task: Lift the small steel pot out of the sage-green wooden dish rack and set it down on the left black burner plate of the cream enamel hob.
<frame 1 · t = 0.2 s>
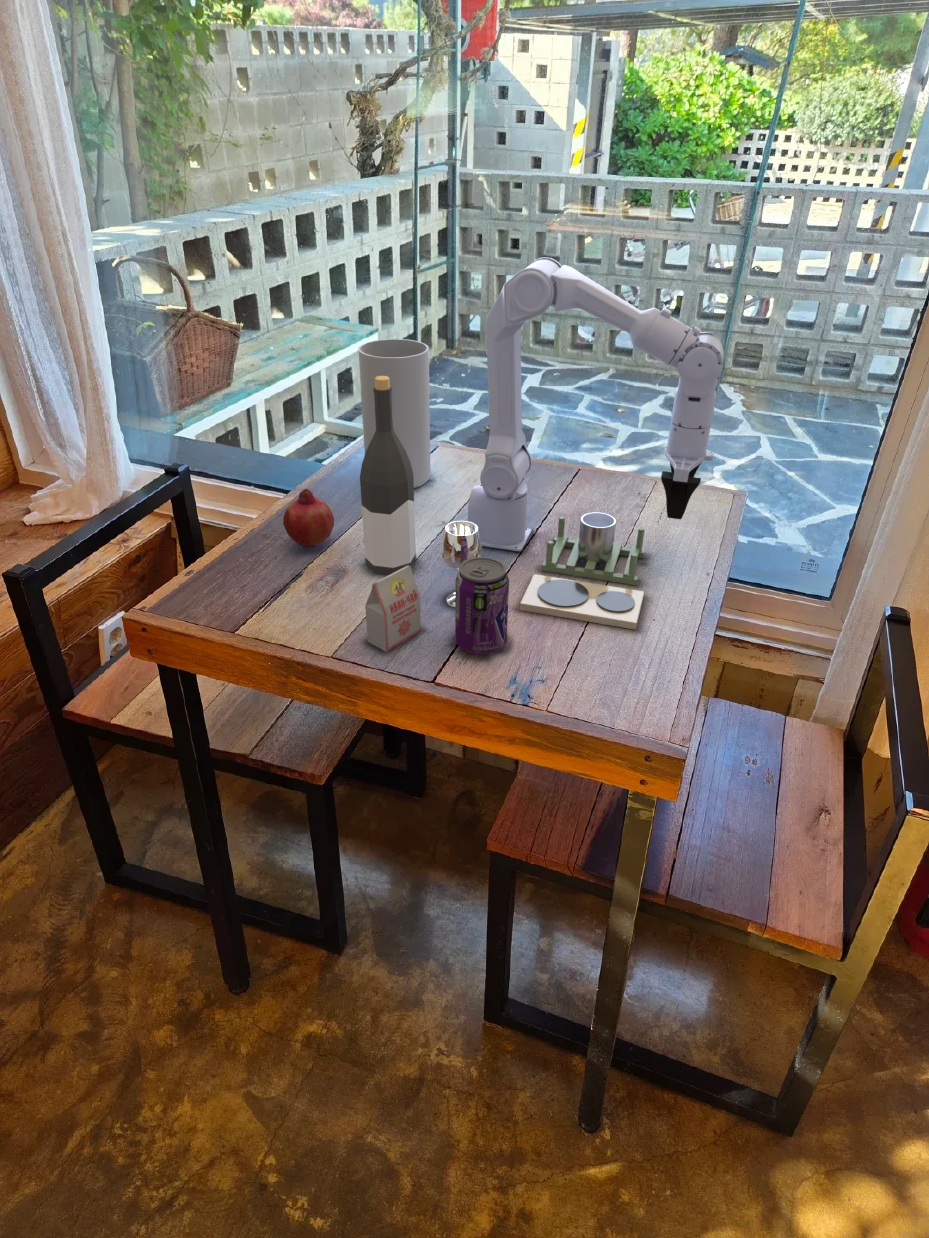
hand: (676, 507, 127), 10 cm above the table, tool pointing down, fingers open, 7 cm apart
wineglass: (461, 601, 123), on the table
rack: (593, 562, 133), on the table
fruit: (311, 545, 137), on the table
wine bottle: (390, 565, 132), on the table
tea bag: (394, 637, 115), on the table
hob: (582, 604, 122), on the table
pot: (594, 553, 132), point 2 cm above the table, touching rack
cylinder vase: (398, 479, 160), on the table
beverage can: (480, 644, 114), on the table
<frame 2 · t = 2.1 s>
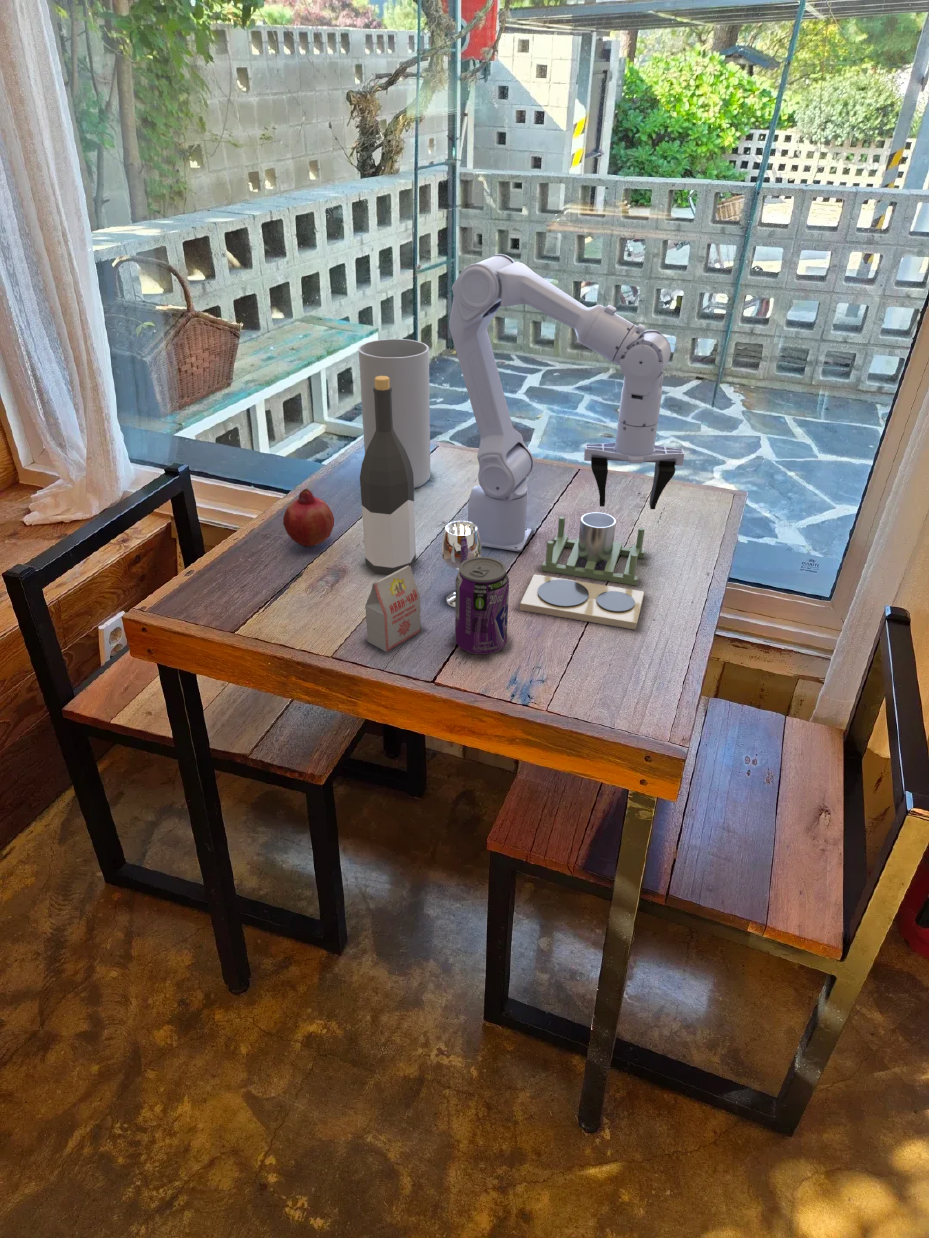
hand: (626, 505, 127), 10 cm above the table, tool pointing down, fingers open, 7 cm apart
nothing on the table moved.
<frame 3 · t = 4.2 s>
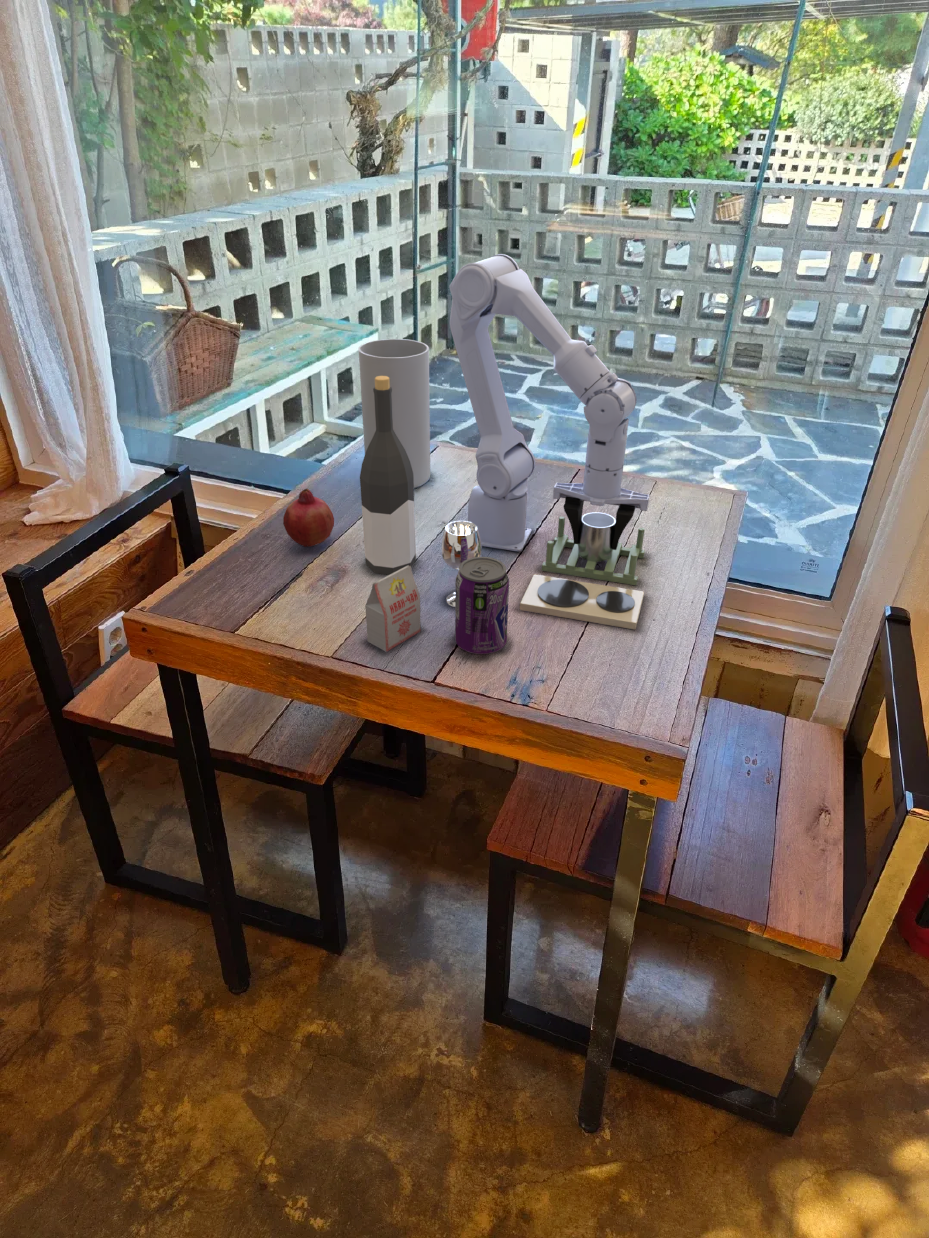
hand: (595, 544, 131), 3 cm above the table, tool pointing down, fingers closed on pot, 5 cm apart
pot: (594, 553, 132), point 2 cm above the table, touching gripper, rack
everything else where it was.
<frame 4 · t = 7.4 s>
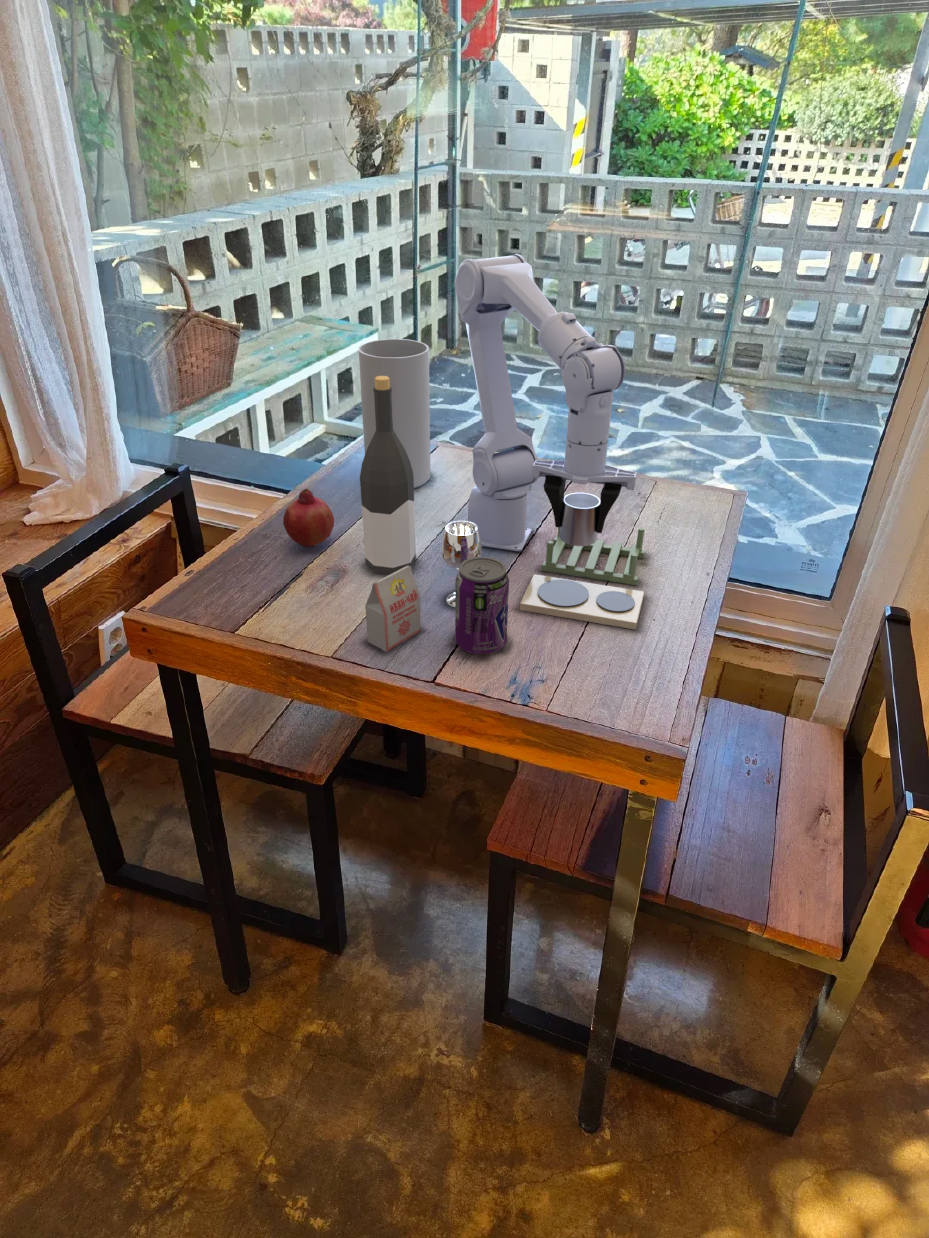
hand: (578, 527, 121), 10 cm above the table, tool pointing down, fingers closed on pot, 5 cm apart
pot: (578, 537, 121), point 9 cm above the table, touching gripper
everything else where it was.
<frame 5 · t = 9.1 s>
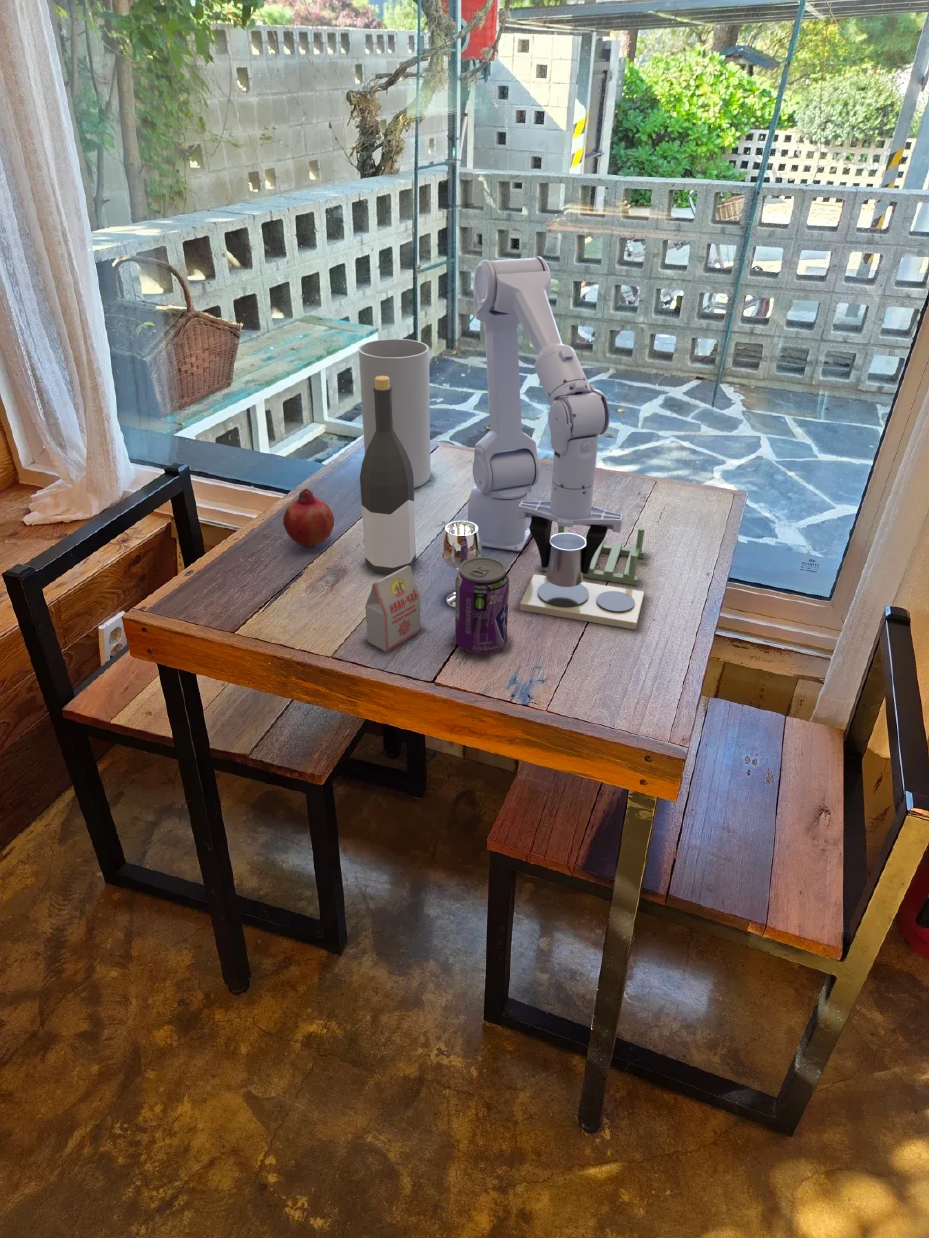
hand: (565, 567, 120), 6 cm above the table, tool pointing down, fingers closed on pot, 5 cm apart
pot: (564, 577, 121), point 4 cm above the table, touching gripper
everything else where it was.
when the fingers open (3 cm above the table, at t = 10.5 s): pot stays where it is, resting on hob.
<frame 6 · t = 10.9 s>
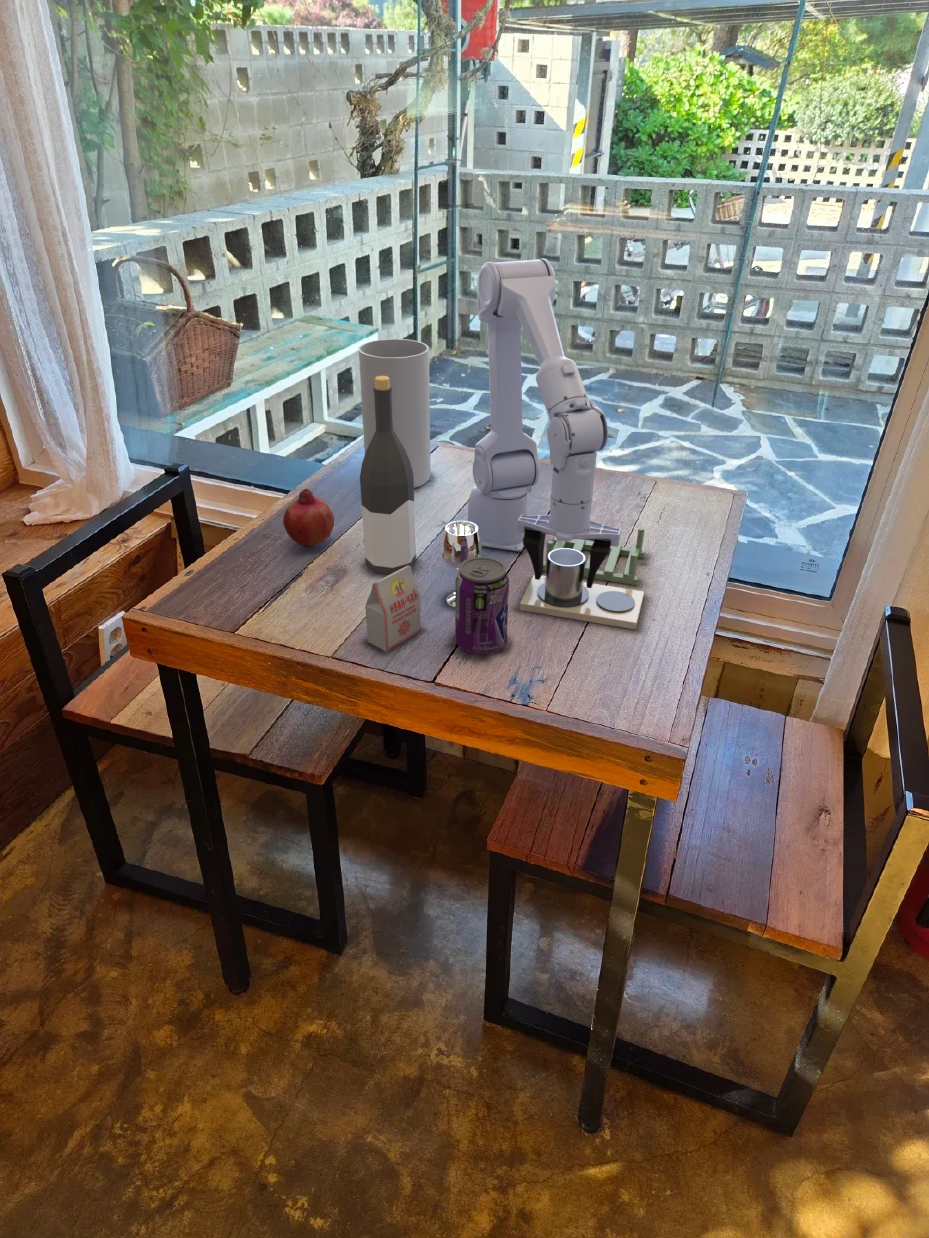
hand: (564, 580, 121), 4 cm above the table, tool pointing down, fingers open, 7 cm apart
pot: (563, 592, 122), point 1 cm above the table, touching hob
everything else where it was.
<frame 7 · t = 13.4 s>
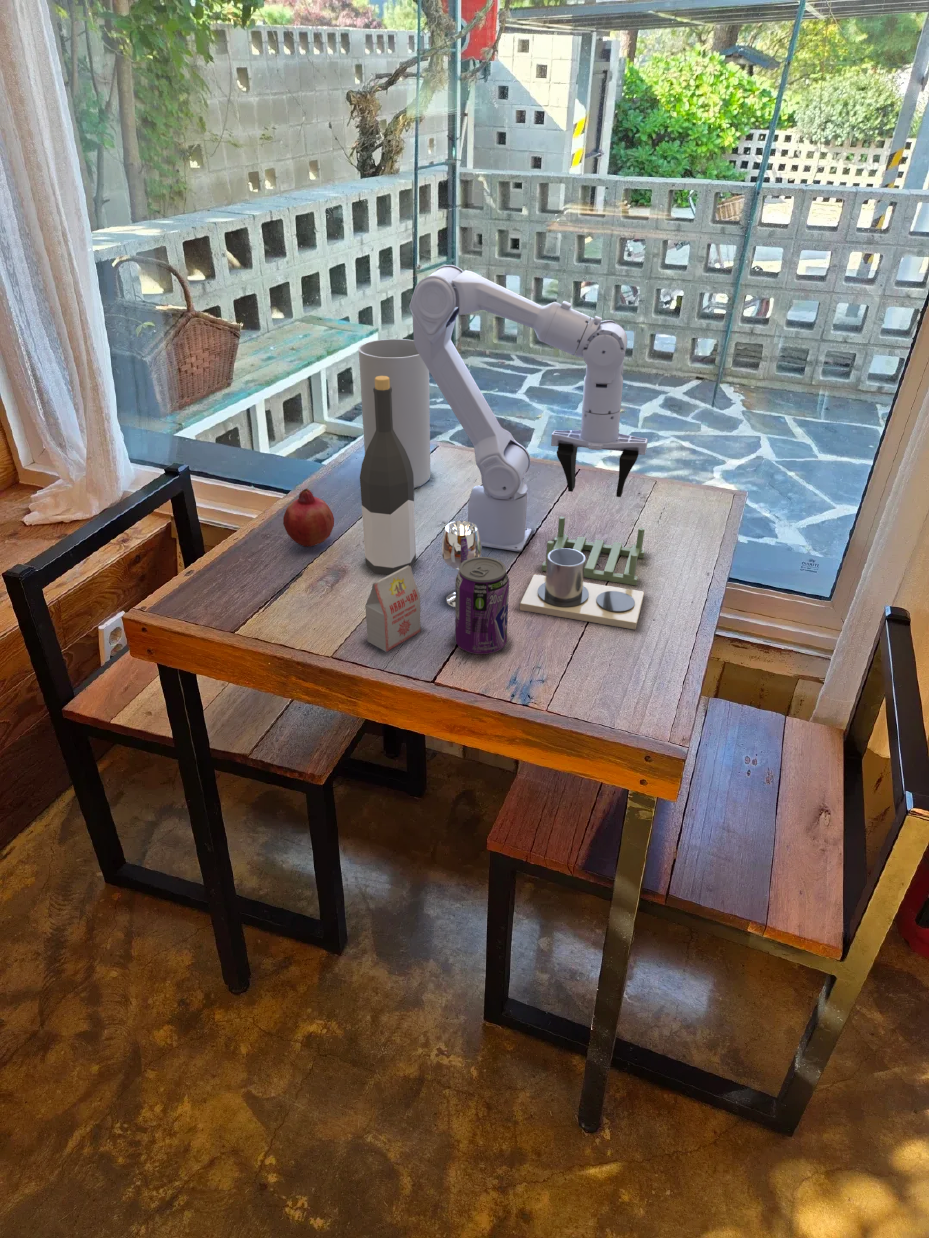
hand: (595, 491, 131), 10 cm above the table, tool pointing down, fingers open, 7 cm apart
nothing on the table moved.
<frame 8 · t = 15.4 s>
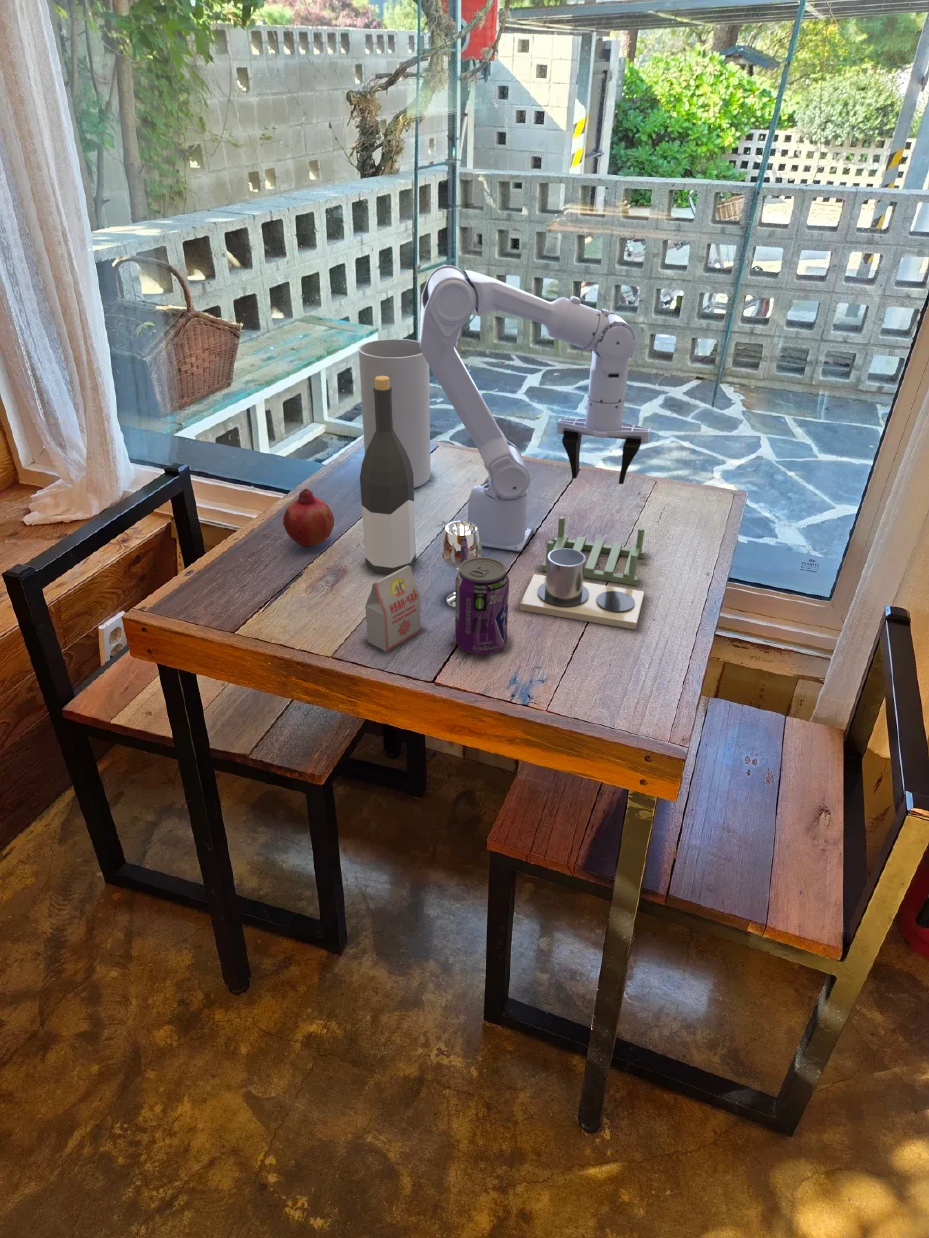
hand: (598, 478, 135), 10 cm above the table, tool pointing down, fingers open, 7 cm apart
nothing on the table moved.
at the end: pot 0.1 cm from the target spot, point 1.5 cm above the table; pot tilted 0°; the gripper is holding nothing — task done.
